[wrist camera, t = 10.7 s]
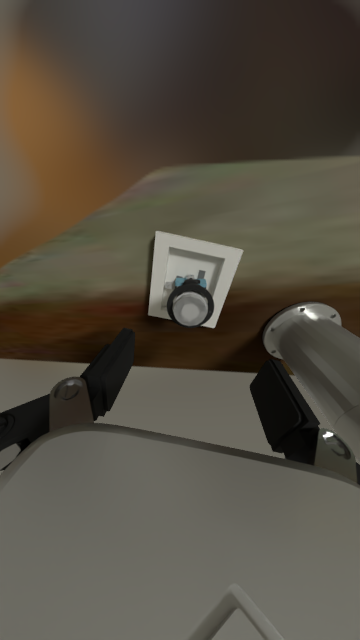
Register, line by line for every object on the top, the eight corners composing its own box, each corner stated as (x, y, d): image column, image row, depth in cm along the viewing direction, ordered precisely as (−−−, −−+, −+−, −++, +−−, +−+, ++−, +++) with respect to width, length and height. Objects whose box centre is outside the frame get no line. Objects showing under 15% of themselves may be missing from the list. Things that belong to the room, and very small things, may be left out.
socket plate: (239, 248, 22) (243, 250, 21) (212, 322, 29) (214, 328, 27) (158, 230, 22) (155, 230, 20) (150, 309, 29) (148, 315, 27)
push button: (166, 297, 26) (154, 330, 18) (165, 265, 24) (151, 286, 15) (205, 299, 26) (211, 333, 17) (209, 267, 23) (219, 289, 15)
